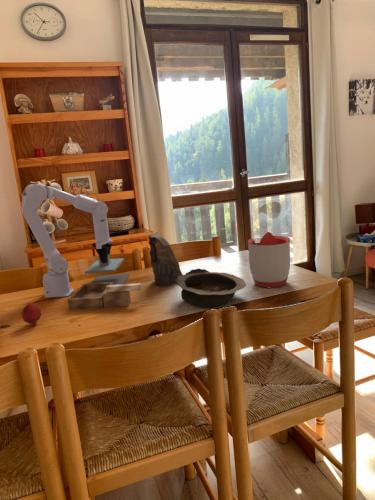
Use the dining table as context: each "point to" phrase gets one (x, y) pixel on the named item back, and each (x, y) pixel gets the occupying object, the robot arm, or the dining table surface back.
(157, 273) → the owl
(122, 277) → the mat
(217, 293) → the stone bowl
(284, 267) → the citrus juicer
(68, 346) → the dining table surface
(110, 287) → the beige rectangular bar
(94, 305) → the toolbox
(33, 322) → the onion
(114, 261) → the lid
